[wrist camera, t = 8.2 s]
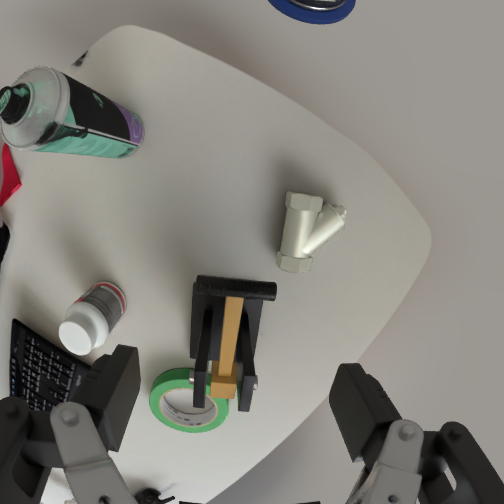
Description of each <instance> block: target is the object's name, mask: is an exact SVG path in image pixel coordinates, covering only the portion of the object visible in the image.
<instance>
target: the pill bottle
mask: <svg viewBox="0 0 504 504" xmlns="http://www.w3.org/2000/svg"><path fill="white" fill-rule="evenodd" d="M125 311H126V300H125V297H124V295H123V293H122V291H121V290H120V289H119V288H118V287H117V286H116V285H114V284H112V283H109V282H99V283H96V284H95V285H94V286H92V287H91V288H90V289H89V290H88V291H87V292H86V293H84V294H83V295H82V296H81V297H80V298H79V299H78V300H77V301H75V302H74V303H73V304H72V305H71V306H70V307H69V308H68V310H67V312H66V316H65V320H64V321H63V322H62V324H61V325H60V327H59V337H60V339H61V341H62V343H63V345H64V346H65V347H66V348H67V349H68V350H69V351H71V352H72V353H74V354H77V355H86V354H87V353H89V352H90V351H91V349H92V348H96V347H99V346H101V345H102V344H103V343H104V342H105V341H106V340H107V338H108V337H109V336H110V334H111V333H112V331H113V330H114V328H115V327H116V325H117V324H118V322H119V321H120V320H121V318H122V317H123V315H124V313H125Z"/></svg>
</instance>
